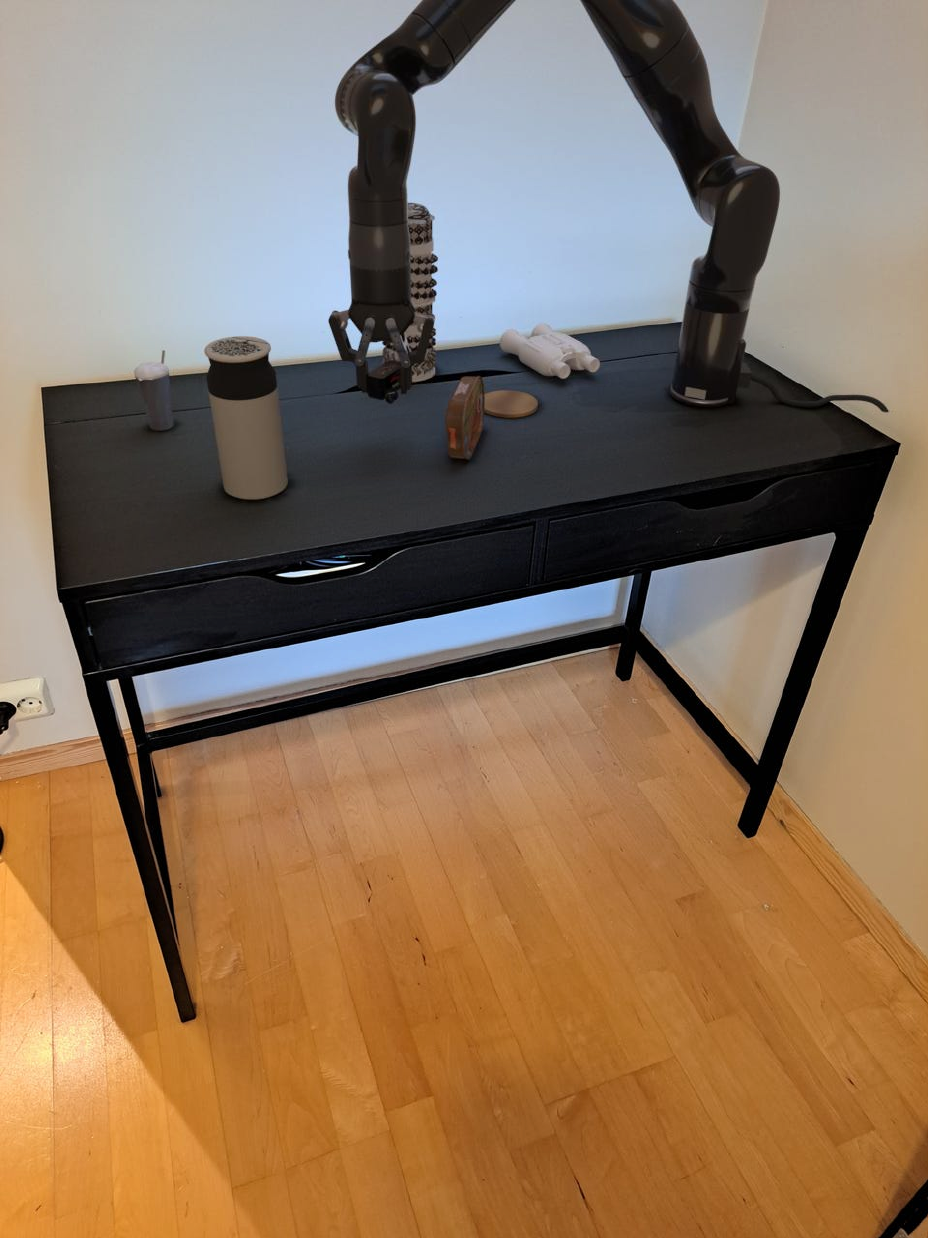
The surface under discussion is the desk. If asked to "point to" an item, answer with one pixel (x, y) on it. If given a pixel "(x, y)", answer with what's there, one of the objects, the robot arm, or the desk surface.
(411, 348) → the decorative candle
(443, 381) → the desk surface
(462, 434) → the tin
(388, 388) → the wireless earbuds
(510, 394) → the cork coaster
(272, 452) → the travel mug
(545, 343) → the binoculars
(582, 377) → the desk surface
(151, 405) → the milkshake
